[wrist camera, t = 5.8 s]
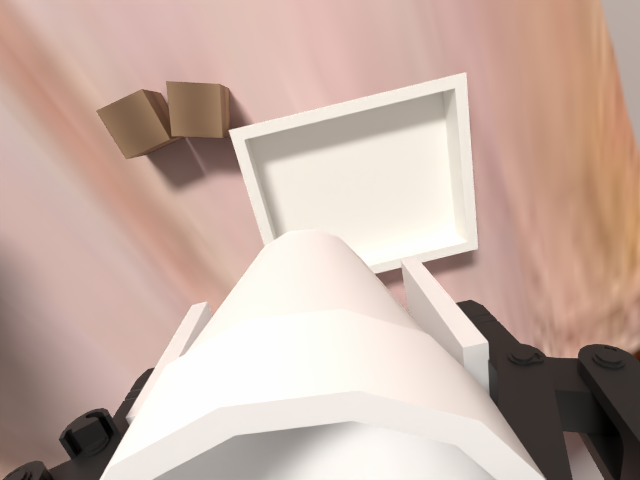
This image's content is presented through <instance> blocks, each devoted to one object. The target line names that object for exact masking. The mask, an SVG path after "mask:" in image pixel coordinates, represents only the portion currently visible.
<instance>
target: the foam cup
mask: <svg viewBox="0 0 640 480" xmlns="http://www.w3.org/2000/svg"><path fill="white" fill-rule="evenodd" d="M100 480H546V478H545V477H544V475H543V474H542V473H541V471H540V470H539V468H538V467H537V465H536V464H535V462H534V461H533V459H532V458H531V456H530V455H529V453H528V452H527V451H526V449H525V448H524V446H523V445H522V443H521V442H520V440H519V439H518V437H517V436H516V434H515V433H514V432H513V430H512V429H511V427H510V426H509V424H508V423H507V421H506V420H505V418H504V417H503V415H502V414H501V413H500V411H499V410H498V408H497V407H496V405H495V404H494V402H493V401H492V399H491V398H490V396H489V395H488V393H487V392H486V391H485V389H484V388H483V386H482V385H481V384H480V383H479V382H478V381H477V380H476V379H475V378H474V377H473V376H472V375H471V374H470V373H469V372H468V371H467V370H466V369H465V368H463V367H462V366H461V365H460V364H459V363H458V362H457V361H456V360H455V359H454V358H453V357H452V356H451V355H450V354H449V353H448V352H447V351H446V350H445V349H444V348H443V347H441V346H440V345H439V344H438V343H437V342H436V341H435V340H434V339H433V338H432V337H431V336H430V335H429V334H427V333H426V332H425V331H424V330H423V329H422V328H421V327H420V326H419V324H418V323H417V322H416V321H415V320H414V319H413V317H412V316H411V315H410V314H409V313H408V312H407V311H406V309H405V308H404V307H403V306H402V305H401V304H400V303H399V301H398V300H397V299H396V298H395V297H394V296H393V294H392V293H391V292H390V291H389V290H388V289H387V288H386V286H385V285H384V284H383V283H382V282H381V281H380V280H379V278H378V277H377V276H376V275H375V274H374V273H373V271H372V270H371V269H370V268H369V267H368V266H367V265H366V263H365V262H364V261H363V260H362V259H361V258H360V257H359V256H358V255H357V254H356V253H355V252H354V251H353V250H352V249H351V248H350V247H349V246H348V245H347V244H346V243H345V242H344V241H343V240H342V239H341V238H340V237H338V236H335V235H332V234H329V233H326V232H323V231H320V230H317V229H308V230H299V231H291V232H287V233H285V234H284V235H282V236H280V237H279V238H277V239H275V240H274V241H272V242H270V243H269V244H267V245H266V246H265V247H264V248H263V249H262V251H261V252H260V253H259V255H258V256H257V257H256V259H255V260H254V261H253V263H252V264H251V265H250V267H249V268H248V270H247V271H246V272H245V274H244V275H243V276H242V278H241V279H240V280H239V282H238V283H237V284H236V286H235V287H234V289H233V290H232V291H231V293H230V294H229V295H228V297H227V298H226V299H225V301H224V302H223V303H222V305H221V306H220V308H219V309H218V310H217V312H216V313H215V314H214V316H213V317H212V318H211V320H210V321H209V322H208V324H207V325H206V326H205V328H204V329H203V331H202V332H201V333H200V335H199V336H198V337H197V339H196V340H195V341H194V343H193V344H192V345H191V347H190V348H189V350H188V351H187V352H186V354H185V355H183V356H181V357H179V358H178V359H176V360H174V361H173V362H171V363H169V364H167V365H166V366H165V368H164V369H163V371H162V373H161V374H160V376H159V378H158V380H157V381H156V383H155V385H154V386H153V388H152V390H151V391H150V393H149V395H148V396H147V398H146V400H145V401H144V403H143V405H142V406H141V408H140V410H139V411H138V413H137V415H136V416H135V418H134V420H133V421H132V423H131V425H130V426H129V428H128V430H127V432H126V433H125V435H124V437H123V439H122V441H121V442H120V444H119V446H118V448H117V449H116V451H115V453H114V455H113V457H112V458H111V460H110V462H109V464H108V465H107V467H106V469H105V471H104V473H103V474H102V476H101V478H100Z"/></svg>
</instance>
